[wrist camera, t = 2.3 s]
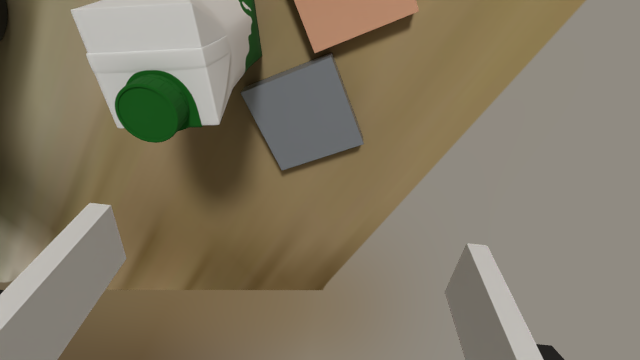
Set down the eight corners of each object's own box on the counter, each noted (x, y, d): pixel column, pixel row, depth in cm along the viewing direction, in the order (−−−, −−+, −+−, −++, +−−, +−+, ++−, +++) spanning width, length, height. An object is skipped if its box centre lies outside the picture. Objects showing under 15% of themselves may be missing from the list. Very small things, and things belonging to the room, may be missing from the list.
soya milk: (196, 66, 41) (95, 149, 24) (174, -24, 36) (26, 1, 19) (271, 63, 40) (221, 146, 23) (259, -30, 35) (185, -9, 18)
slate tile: (244, 87, 42) (240, 92, 40) (331, 52, 39) (331, 57, 37) (283, 162, 47) (281, 170, 45) (362, 136, 44) (363, 144, 43)
